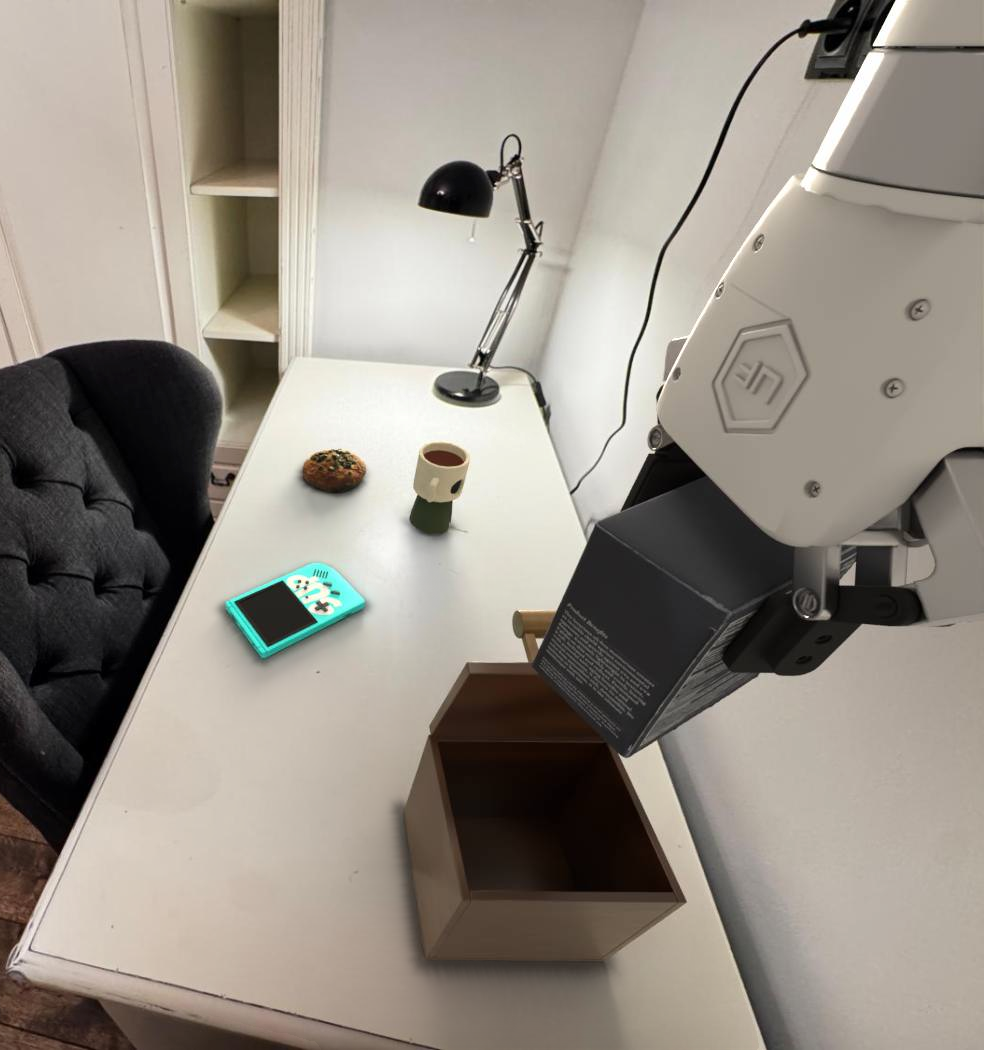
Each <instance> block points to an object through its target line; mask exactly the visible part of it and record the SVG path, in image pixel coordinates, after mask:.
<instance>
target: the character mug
mask: <svg viewBox="0 0 984 1050" xmlns="http://www.w3.org/2000/svg"><path fill="white" fill-rule="evenodd" d="M417 456H418V457H417V462H416V467H415V472H414V477H413V484H412V488H413V490H414V492H415V493H416V494H417V495H416V497H415V499H414V502H413V505H412V507H411V509H410V510H411V511H410V514H409V517H408V520H409V522H410V523H409V524H410V525H412V526H413V527H414V528H415V529H416V530H419V531H421V532H423V533H426V534H430V535H433V536H434V535H442V534H444V533H446V532H447V531H449V529H450V525H451V523H452V515H453V504H454V503H453V501H455V500H457V499H459V498H460V496H461V494H462V493H463V490H464V485H465V482H466V478H467V477H466V476H467V473H468V470H469V465H470V463H471V456H470V453H469V452H468V451H467V449H465V448H464V447H462V446H460V445H459V444H456V443H452V442H450V441H443V440H439V441H437V440H436V441H430V442H426V443H424V444H423V445H422V446H421V447H420V448H419V451H418V455H417Z"/></svg>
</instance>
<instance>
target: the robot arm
mask: <svg viewBox="0 0 984 1050" xmlns="http://www.w3.org/2000/svg"><path fill="white" fill-rule="evenodd" d="M872 47H875V48H873V49H871V50H870V51H869V52H868V53H867V55H866V57H865V59H864V61H863V63H862V65H861V67H860V68H859V71H858V72H857V74H856V76H855V78H854V80H853V82H852V84H851V86H850V88H849V89H848V92H847V93H846V95H845V98H844V100H843V102H842V104H841V105H840V108H839V110H838V112H837V113H836V115H835V118H833V119H834V120H833V121H832V123H831V124H830V127H829V129H828V131H827V133H826V135H825V136H824V139H823V141H822V142H821V144H820V146H819V149H818V151H817V153H815V156H814V159H813V161H812V163H811V164H810V165H809V168H808V169H807V171H806V172H801V173H795V174H793V175H792V176H791V177H790V178H789V180H788V181H787V183H785V185H784V186H783V188H782V189H781V190H780V192H778V193H777V196H776V197H775V198H774V199H773V200H772V202H771V203H770V204H769V206H768V207H767V209H766V210H765V212H764V213H763V214H762V216H761V217H760V219H759V221H758V222H757V223H756V224H755V226H754V227H753V229H752V230H751V232H750V233H749V234H748V236H747V237H746V239H745V240H744V242H743V244H742V245H741V247H740V248H739V250H738V251H737V253H736V254H735V256H734V258H732V261H731V262H730V264H729V266H728V267H727V268H726V271H725V272H724V274H723V276H722V277H721V279H720V281H719V282H718V284H717V286H716V287H715V289H714V291H713V292H712V294H711V296H710V298H709V300H708V301H707V303H706V305H705V307H704V309H703V310H702V312H701V314H700V316H699V317H698V319H697V320H696V323H695V324H694V326H693V328H692V330H691V332H690V333H689V335H686V336H681V337H677V338H674V339H673V338H672V340H670V342H668V344H667V347H666V351H665V360H664V366H663V375H662V382H664V383H663V384H662V385H661V386H660V387H659V388H658V390H657V392H656V396H655V400H656V418H657V419H656V420H657V422H656V423H657V424H656V425H654V426H653V427H651V428H650V430H649V432H648V434H647V438H646V442H647V446H648V447H647V448H649V450H651V451H652V452H651V453H648V454H647V455H646V458H645V460H644V462H643V464H642V466H641V468H640V470H639V472H638V474H637V475H636V477H635V480H634V482H633V484H632V486H631V488H630V490H629V492H628V494H627V496H626V499H625V501H624V502H623V504H622V506H621V509H620V510H619V512H622V511H624V510H626V509H629V508H631V507H634V506H636V505H638V504H641V503H643V502H646V501H648V500H651V499H653V498H655V497H658V496H660V495H663V494H665V493H667V492H670V491H672V490H675V489H677V488H679V487H682V486H684V485H687V484H689V483H691V482H694V481H696V480H698V479H701V478H703V477H706V476H708V477H709V478H710V479H711V480H712V481H713V482H714V483H715V484H716V485H717V486H718V487H719V488H720V489H721V490H722V491H723V492H724V493H725V494H726V495H727V496H728V497H729V498H730V499H731V500H732V501H733V502H734V503H735V504H736V505H737V507H738V508H739V509H740V510H741V511H742V512H743V513H744V514H745V515H746V516H747V517H748V518H749V519H750V520H752V521H753V522H754V523H755V524H756V525H757V526H758V527H759V528H760V529H761V530H762V531H764V532H765V533H766V534H767V535H769V536H770V537H772V538H773V539H775V540H777V541H779V542H781V543H784V544H787V545H790V546H794V556H793V575H792V594H774V595H771V596H769V597H768V598H767V599H766V600H765V601H764V602H763V604H762V605H761V606H760V607H759V609H758V610H757V611H756V612H755V614H754V615H753V616H752V617H751V618H750V620H749V621H748V622H747V623H746V625H745V626H744V627H743V628H742V630H741V631H740V632H739V633H738V635H737V636H736V637H735V638H734V640H733V641H732V642H731V643H730V644H729V646H728V647H727V648H726V649H725V651H724V652H723V657H722V661H723V662H724V663H725V665H726V666H727V668H728V669H729V671H730V672H733V673H760V674H774V675H777V676H779V677H797V676H798V677H800V676H803V675H804V676H805V675H807V674H810V673H812V672H814V671H816V670H817V669H818V668H819V667H820V666H822V664H824V663H825V661H826V660H828V658H830V657H831V656H832V654H834V653H835V652H836V651H837V650H838V649H839V648H840V647H841V646H842V645H843V644H844V643H845V642H846V641H847V640H848V639H849V638H850V637H851V636H852V635H853V634H854V633H855V632H856V631H857V630H858V629H859V628H860V627H861V626H862V625H869V626H881V627H927V628H928V627H929V628H947V627H948V628H949V627H952V626H955V625H956V624H962V623H972V622H980V621H984V48H979V47H984V0H895V1H894V3H893V5H892V7H891V9H890V10H889V13H888V14H887V17H886V18H885V21H884V23H883V25H882V26H881V29H880V30H879V32H878V35H877V36H876V38H875V40H874V42H873V44H872ZM939 47H941V48H939ZM942 47H943V48H942ZM945 47H946V48H945ZM949 47H950V48H949ZM951 47H952V48H951ZM954 47H956V48H954ZM959 47H960V48H959ZM961 47H962V48H961ZM964 47H965V48H964ZM968 47H973V48H968ZM975 47H977V48H975ZM653 452H654V453H653ZM842 546H857V552H856V562H855V568H854V569H855V570H854V585H852V584H851V585H847V584H846V585H845V584H844V585H841V584H840V582H841V579H840V565H841V548H842ZM926 546H928V547H929V550H930V552H931V555H932V557H933V561H934V567H933V571H932V572H931V573H930V574H929V575H928V576H927V577H924V578H921V579H919V580H918V579H917V580H914V581H913V582H910V583H907V577H908V575H907V574H908V561H909V560H908V559H909V548H911V549H912V548H913V549H916V548H917V549H919V548H922V547H926Z"/></svg>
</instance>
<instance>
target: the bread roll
mask: <svg viewBox="0 0 984 1050" xmlns="http://www.w3.org/2000/svg"><path fill="white" fill-rule="evenodd" d="M366 473H367V465H366V463H365V461H363V460H362V458H361V457H359V456H358V455H357V454H356V453H353V452H352V451H350V450H345V449H342V448H338V449H334V448H331V449H324V450H319V451H317V452H315V453H312V454H311V455H310V456H309V458H307V459H306V460H305V461H304V463H303V466H302V470H301V474H302V476H303V479H304V480H305V481H306V482H307V483H308V484H310V485H311V486H313V487H315V488H318V489H320V490H322V491H326V492H328V493H332V494H340V493H344V492H348V491H350V490H352V489H353V488H356V487H357V486H358V485H359V484H360V483H361V482H362V480H363V478H364V477H365V475H366Z"/></svg>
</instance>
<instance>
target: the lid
mask: <svg viewBox="0 0 984 1050" xmlns="http://www.w3.org/2000/svg"><path fill="white" fill-rule="evenodd" d="M556 611H557V609H546V610H545V609H516V610H514V612H513V614H512V619H511V622H512V623H511V626H512V631H513V634H514V636H515V637H516V638H517V639H521V641H522V644H523V645H522V646H523V648H524V652H525V656H526V659H527V661H526V662H523V661H522V662H521V661H467V662H466V663H465V664H464V666H463V668H462V669H461V672H460V673H459V674H458V676H457V678H456V680H455V681H454V683H453V684H452V687H451V688H450V690H449V692H448V693H447V695H446V696H445V698H444V700H443V702H442V703H441V705H440V706H439V708H438V710H437V712H436V713H435V715H434V717H433V718H432V720H431V722H430V724H429V725H428V728H429V734H430V735H431V736H508V737H601V736H600V735H599V734H598V733H597V732H596V731H595V730H594V729H593V728H592V727H591V726H590V725H589V724H588V723H587V722H586V721H585V720H584V719H583V718H582V717H581V716H580V715H579V714H578V713H577V712H576V711H575V710H574V709H573V708H572V707H571V706H570V705H569V704H568V703H567V702H566V701H565V700H564V699H563V698H562V697H561V696H560V695H559V694H558V693H557V692H556V691H555V690H554V689H553V688H552V687H551V686H550V685H549V684H548V683H547V682H546V681H545V680H544V679H543V678H542V677H541V676H540V675H539V674H538V673H537V672H536V671H535V669H534V668H533V667H532V664H533V661H534V659H535V657H536V654H537V652H538V650H539V646H538V642H537V639H541V640H543V639H544V637H545V635H546V633H547V631H548V629H549V626H550V624H551V622H552V620H553V617H554V615H555V613H556Z"/></svg>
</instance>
